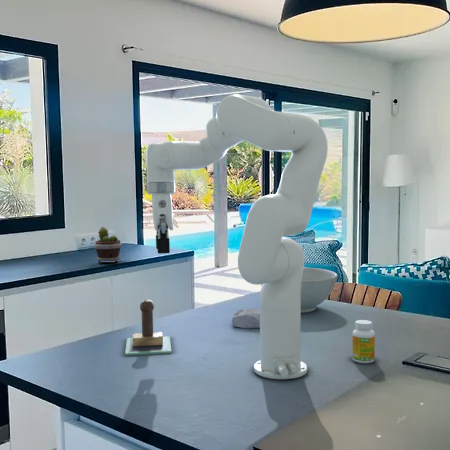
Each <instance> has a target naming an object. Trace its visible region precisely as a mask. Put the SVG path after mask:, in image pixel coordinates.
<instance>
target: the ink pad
mask: <svg viewBox="0 0 450 450" xmlns="http://www.w3.org/2000/svg"><path fill="white" fill-rule="evenodd" d="M124 351H125V352H124V356H125V357H126V356H128V357H129V356H144V355H164V354H172V346H171V337H170V335H166V336H165V335H164V336H163V346H149V347H133V337H127V338H126V344H125V350H124Z"/></svg>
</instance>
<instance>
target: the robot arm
mask: <svg viewBox="0 0 450 450" xmlns="http://www.w3.org/2000/svg"><path fill="white" fill-rule="evenodd" d="M218 103H219V104H218V105H217V108H216V111H215V116H214V117H212V118H210V119H209V120H208V121H207V122H206V126H205V135H206V137H204V138H202V139H200V140H198V141H187V140H186V141H185V140H170V141H166V142H158V143H157V142H155V143H149V144H148V145H147V146H146V148H145V160H146V161H145V162H146V187H147V188H146V190H147V193H146V195H148V196H149V195H151V208H152V221H153V227H154V228H153V229H154V230H155V232H156V234H155V248H156V250H157V254H159V255H161V254H163V255H164V254H170V252H171V247H170V246H171V245H170V243H171V242H170V236H169V230H170V231H173V230H174V220H173V219H174V217H173V215H174V214H173V200H172V198H173V197H172V195H175V194H176V183H175V171H183V170H186V171H187V170H188V171H189V170H190V171H197V170H201V169H204V168H207V167H209V166H210V165H213V164H214V163H217V162H219V161H220V160H221V159H223V158H224V157H225V156H226V154H227V153H228V150H229V149H231V148H233V147H235V146H237V145H239V144H241V143H242V142H246V143H247V144H250V145H252V146H254V147H256V148H259V149H262V150H264V151H268V152H290V153H291V155H290V158H289V160H288V161H287V163H286V164H285V166H284V168H283V170H282V173H281V177H280V181H279V185H278V188H277V192H275V194H267V195H262V196H261V197H259V198H258V199H256V200H255V201H254V202H253V203H252V205H251V207H250V209H249V211H248V213H247V215H246V220H245V224H244V229H243V232H242V237H241V240H240V245H239V250H238V256H237V267H238V271H239V274H240V276H241V277H242V279H244V281H246V282H247V283H248V284H251V285H261V284H262V286H261V289H260V294H259V309H260V328H259V350H260V351H259V356H260V357H259V360H257V361H256V362H255V363H254V364H253V371H254V373H255V374H256V375H257V376H260V377H262V378H266V379H271V380H292V379H297V378H301V377H304V376H305V375H306V374H307V373H308V365H307V364H306V363H305V362H303V361H301V359H302V356H301V355H302V353H301V351H302V350H301V349H302V339H301V338H302V336H301V335H302V334H301V333H302V331H301V330H302V329H301V326H302V325H301V324H302V323H301V320H302V319H301V283H302V276H303V271H304V268H305V260H306V259H305V253H304V250H303V248H302V246H301V245H300V243H298V242H297V241H296V240H294V239H292V238H290V237H289V236H294V235H298V234H301V233H302V232H304V231H305V230H306V229H307V227H308V226H309V222H310V221H311V216H312V212H313V209H314V208H313V207H314V206H315V205H314V204H315V201H316V196H317V194H318V188H319V185H320V181H321V177H322V174H323V170H324V167H325V164H326V161H327V157H328V151H329V149H328V148H329V147H328V145H329V144H328V139H327V135H326V132H325V130H324V129H323V127H322V126H321V125H320V124H319V123H318V122H317V120H315V119H313V118H312V117H309V116H308V115H304V114H300V113H295V112H284V111H277V110H276V111H275V110H272V107H271V105H270V104H269V103H268V102H267V101H266V100H264V99H263V98H260V97H258V96H251V95H245V94H239V93H235V94H230V95H227V96H225V97H224V98H223V99H222V100H221V101H220V102H218Z"/></svg>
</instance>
